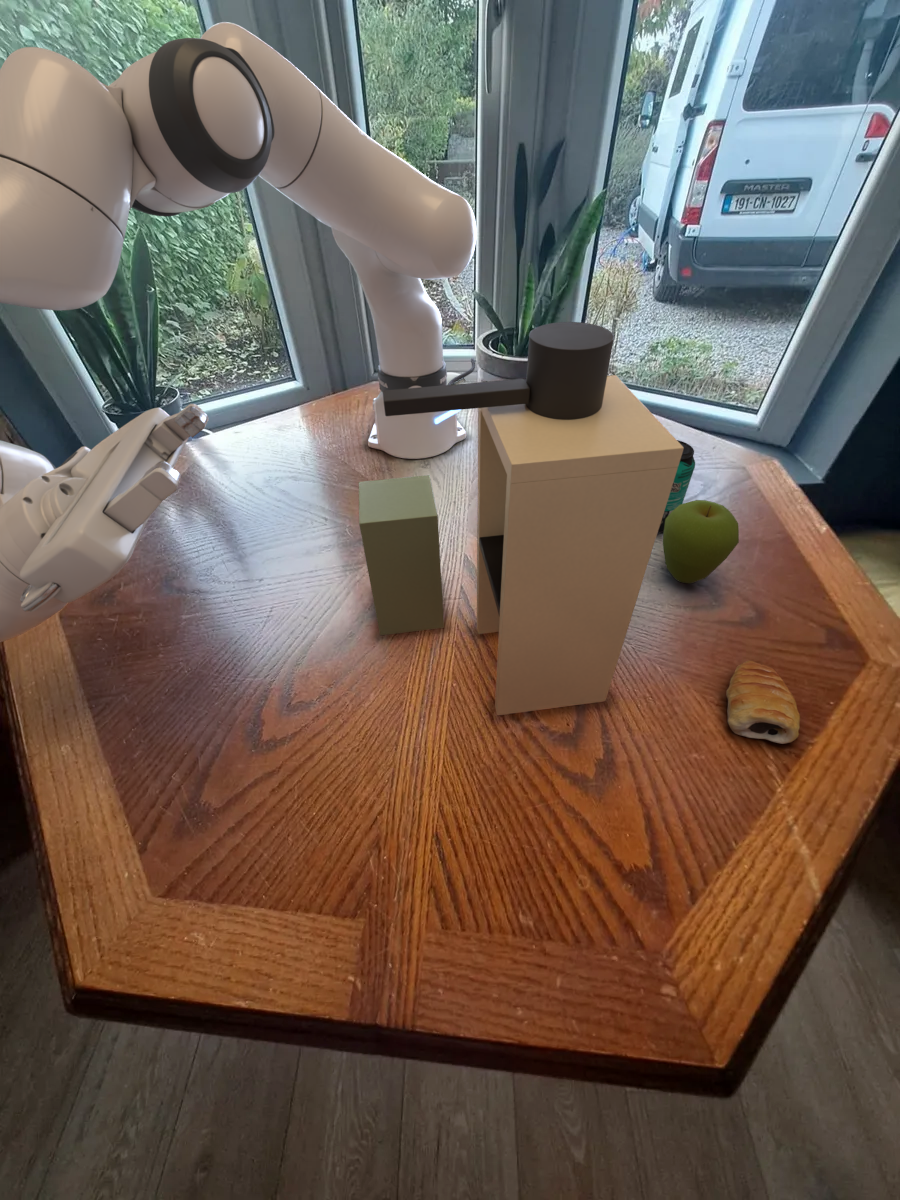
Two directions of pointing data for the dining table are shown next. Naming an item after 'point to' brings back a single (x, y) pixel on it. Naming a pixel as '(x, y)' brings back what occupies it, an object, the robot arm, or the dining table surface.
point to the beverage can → (680, 482)
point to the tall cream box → (566, 542)
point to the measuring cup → (530, 378)
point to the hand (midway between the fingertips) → (187, 440)
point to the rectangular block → (402, 553)
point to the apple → (698, 539)
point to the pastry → (761, 705)
